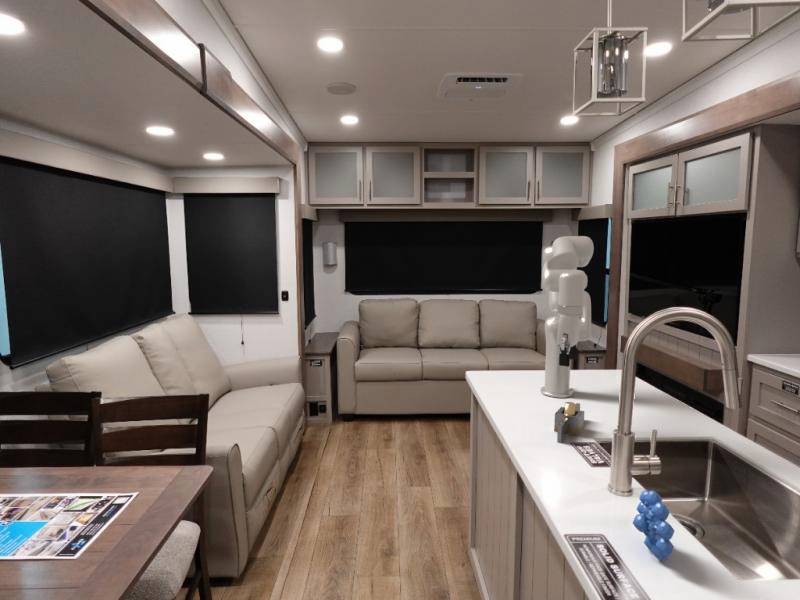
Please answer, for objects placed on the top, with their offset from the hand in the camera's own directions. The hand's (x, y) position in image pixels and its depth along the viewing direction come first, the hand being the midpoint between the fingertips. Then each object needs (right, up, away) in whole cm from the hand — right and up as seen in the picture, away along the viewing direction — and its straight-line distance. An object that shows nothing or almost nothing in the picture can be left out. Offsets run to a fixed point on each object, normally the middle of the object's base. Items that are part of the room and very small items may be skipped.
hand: (568, 362), depth 154 cm
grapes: (-5, -30, -59) cm, 67 cm away
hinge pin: (+1, -22, +1) cm, 22 cm away
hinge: (+1, -22, +1) cm, 22 cm away
